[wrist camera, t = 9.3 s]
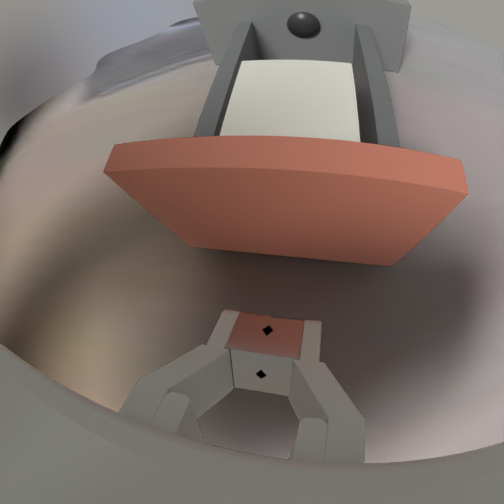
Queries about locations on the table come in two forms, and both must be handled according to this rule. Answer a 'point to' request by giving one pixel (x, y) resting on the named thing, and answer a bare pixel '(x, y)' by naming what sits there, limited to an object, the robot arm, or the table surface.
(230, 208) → the plug
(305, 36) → the socket housing
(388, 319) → the table surface
